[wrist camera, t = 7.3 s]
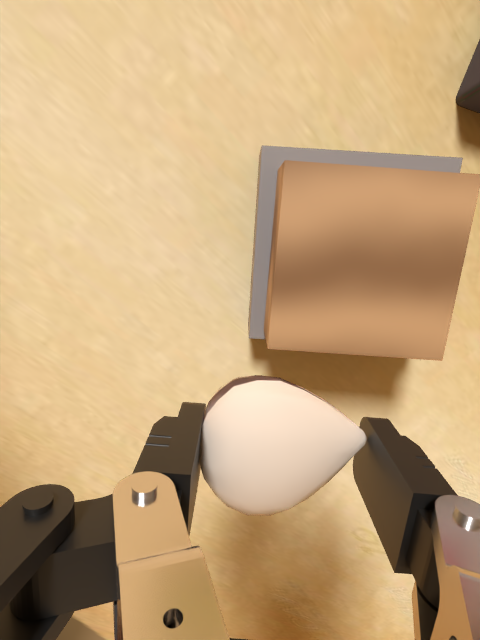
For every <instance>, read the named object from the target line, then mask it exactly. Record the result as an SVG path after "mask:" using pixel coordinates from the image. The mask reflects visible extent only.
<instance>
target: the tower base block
mask: <svg viewBox="0 0 480 640" xmlns="http://www.w3.org/2000/svg"><path fill="white" fill-rule="evenodd" d="M462 159H463V158H456V157H439V156H423V155H407V154H391V153H374V152H358V151H342V150H326V149H309V148H293V147H277V146H262V147H261V151H260V155H259V169H258V184H257V200H256V215H255V230H254V245H253V260H252V276H251V291H250V306H249V321H248V328H249V338H253V339H265V334H264V319H265V308H266V297H267V285H268V274H269V263H270V251H271V240H272V229H273V217H274V206H275V195H276V183H277V172H278V169H279V168H280V166H281V165H282V164H283V162H284V161H285V160H290V161H304V162H317V163H331V164H344V165H358V166H371V167H385V168H398V169H412V170H425V171H439V172H453V173H460V169H461V164H462Z"/></svg>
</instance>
